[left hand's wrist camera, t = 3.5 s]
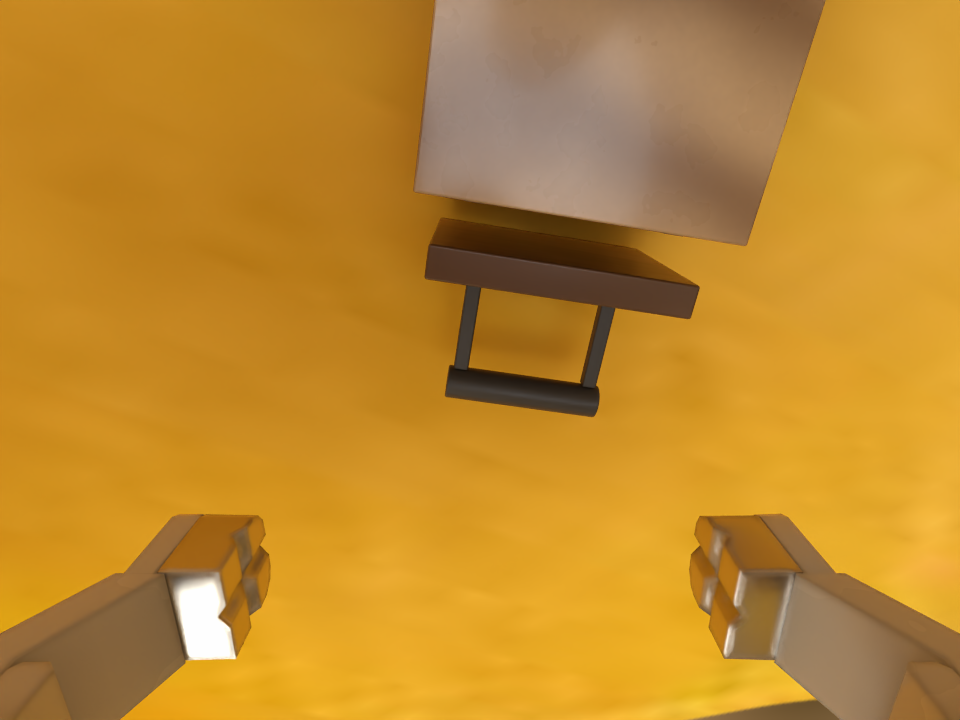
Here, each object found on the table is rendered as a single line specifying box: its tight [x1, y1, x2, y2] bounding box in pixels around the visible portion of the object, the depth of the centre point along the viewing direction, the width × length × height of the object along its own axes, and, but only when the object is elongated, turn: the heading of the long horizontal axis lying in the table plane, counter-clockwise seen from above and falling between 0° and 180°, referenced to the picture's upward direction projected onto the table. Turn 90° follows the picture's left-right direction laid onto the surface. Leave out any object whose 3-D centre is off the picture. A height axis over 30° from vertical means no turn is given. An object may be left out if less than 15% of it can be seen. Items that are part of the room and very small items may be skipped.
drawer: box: [425, 200, 700, 417], centre depth 21 cm, size 19×9×8 cm, turn 171°
